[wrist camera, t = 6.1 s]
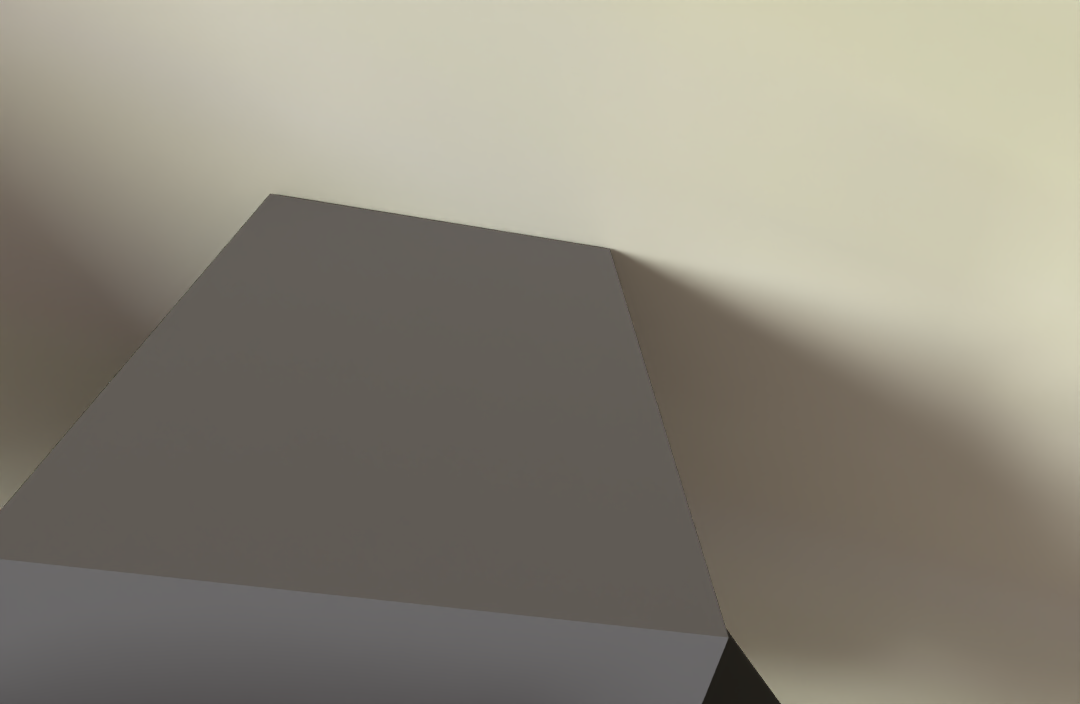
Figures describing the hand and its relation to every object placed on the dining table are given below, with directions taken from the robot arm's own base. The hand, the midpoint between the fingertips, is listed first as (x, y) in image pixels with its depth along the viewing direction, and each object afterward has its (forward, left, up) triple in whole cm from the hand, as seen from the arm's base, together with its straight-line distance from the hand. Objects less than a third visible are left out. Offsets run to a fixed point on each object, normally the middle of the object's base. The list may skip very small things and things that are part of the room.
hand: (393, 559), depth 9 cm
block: (0, 0, -3) cm, 3 cm away
